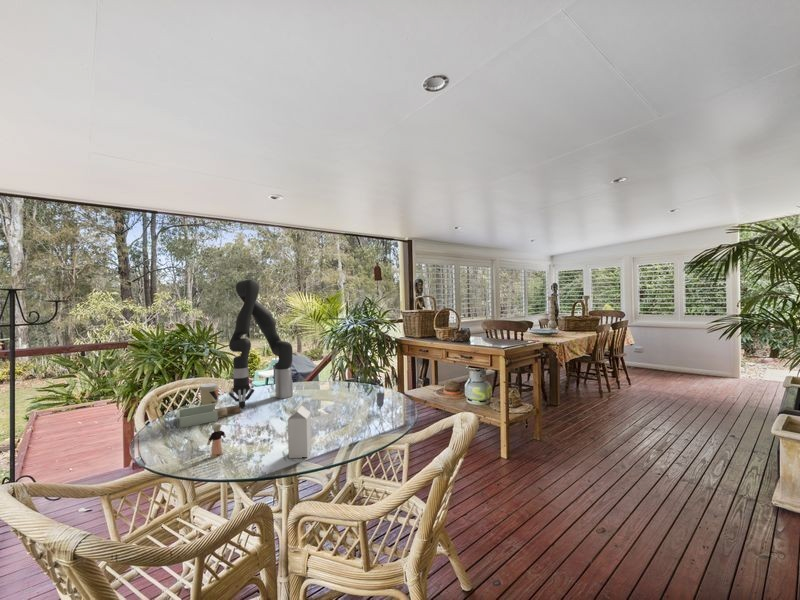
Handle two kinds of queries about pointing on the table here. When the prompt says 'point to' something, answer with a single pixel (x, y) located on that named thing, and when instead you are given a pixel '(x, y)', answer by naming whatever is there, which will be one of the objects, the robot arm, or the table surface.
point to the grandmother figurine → (216, 440)
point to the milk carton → (299, 432)
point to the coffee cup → (209, 393)
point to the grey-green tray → (196, 415)
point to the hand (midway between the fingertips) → (242, 408)
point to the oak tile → (221, 412)
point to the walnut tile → (233, 410)
